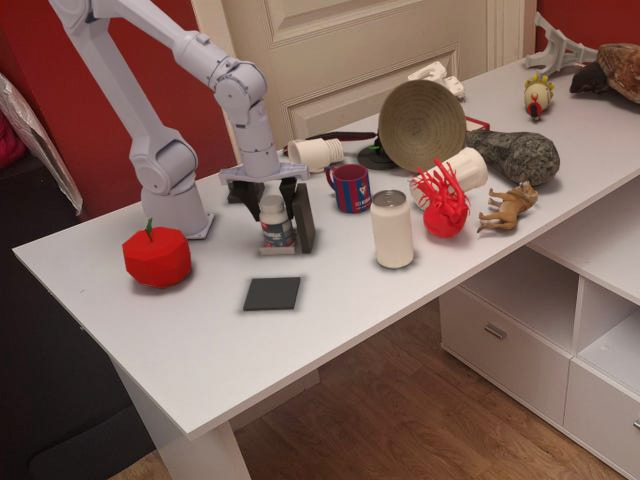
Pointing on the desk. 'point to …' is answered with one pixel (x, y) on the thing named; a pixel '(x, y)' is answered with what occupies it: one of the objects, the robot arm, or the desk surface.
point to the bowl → (421, 125)
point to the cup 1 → (350, 187)
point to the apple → (157, 256)
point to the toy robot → (376, 157)
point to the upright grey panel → (298, 224)
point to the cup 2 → (467, 174)
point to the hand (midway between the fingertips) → (276, 217)
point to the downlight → (315, 153)
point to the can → (392, 228)
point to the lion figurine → (509, 206)
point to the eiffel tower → (558, 51)
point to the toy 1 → (340, 137)
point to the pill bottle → (276, 222)
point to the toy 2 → (537, 95)
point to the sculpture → (611, 72)
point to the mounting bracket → (440, 78)
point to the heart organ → (443, 202)
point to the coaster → (272, 293)
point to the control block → (233, 199)
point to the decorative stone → (517, 154)
